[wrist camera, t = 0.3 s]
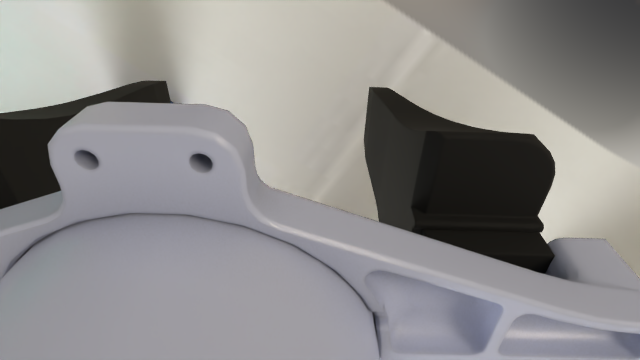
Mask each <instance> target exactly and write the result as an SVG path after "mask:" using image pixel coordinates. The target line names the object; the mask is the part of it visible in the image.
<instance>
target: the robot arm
mask: <svg viewBox="0 0 640 360" xmlns="http://www.w3.org/2000/svg"><path fill="white" fill-rule="evenodd" d="M364 146H365V158H366V163H367V167H368V171H369V175H370V179H371V183H372V187H373V191H374V195H375V199H376V204H377V210H378V218H379V222H378V221H375V220H372V219H369V218H365V217H362V216H359V215H356V214H353V213H350V212H347V211H344V210H340V209H337V208H334V207H331V206H328V205H325V204H322V203H318V202H315V201H312V200H309V199H306V198H303V197H300V196H296V195H293V194H290V193H287V192H284V191H281V190H278V189H275V188H271V187H269V186H268V185H266V184H265V183H264V182H263V181H262V180H261V179H260V178H259V176H258V174H257V171H256V167H255V160H254V148H253V143H252V140H251V138H250V135H249V133H248V130H247V128H246V125H244V124H243V123H242V122H241V121H240V120H239V119H237V118H236V117H235V116H234V115H233V114H232V113H230V112H229V111H228V110H224V109H220V108H216V107H213V106H209V105H205V104H172V103H171V102H170V97H169V92H168V88H167V83H166V81H141V82H136V83H132V84H129V85H125V86H122V87H119V88H116V89H112V90H109V91H106V92H103V93H100V94H96V95H93V96H89V97H86V98H82V99H79V100H75V101H71V102H67V103H63V104H58V105H53V106H48V107H43V108H37V109H30V110H23V111H15V112H8V113H0V360H640V278H639V277H638V276H637V275H636V274H635V273H634V272H633V270H632V269H631V268H630V267H629V266H628V265H627V263H626V262H625V261H624V260H623V259H622V258H621V257H620V255H619V254H618V253H617V252H616V251H615V250H614V249H613V247H612V246H611V245H610V244H609V243H608V242H607V240H606V239H594V238H558V239H555V240H553V241H551V242H549V243H548V244H547V243H546V242H545V240H544V239H543V237H542V236H541V234H540V233H539V232H542V231H543V229H544V224H543V223H542V222H541V220H540V219H539V217H538V214H539V212H540V210H541V207H542V205H543V203H544V201H545V199H546V197H547V194H548V192H549V190H550V188H551V186H552V183H553V179H554V176H555V162H554V160H553V157H552V155H551V153H550V151H549V150H548V149H547V148H546V147H545V146H544V145H543V144H542V143H541V142H540V141H539V140H538V138H537V137H536V136H535V135H534V134H521V133H508V132H498V131H492V130H486V129H480V128H475V127H471V126H467V125H463V124H460V123H456V122H453V121H450V120H447V119H445V118H442V117H440V116H437V115H435V114H432V113H430V112H428V111H426V110H424V109H423V108H421V107H419V106H417V105H415V104H414V103H412V102H410V101H409V100H407V99H406V98H404V97H402V96H401V95H399V94H398V93H396V92H395V91H393V90H391V89H389V88H380V87H369V95H368V105H367V114H366V124H365V133H364Z"/></svg>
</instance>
